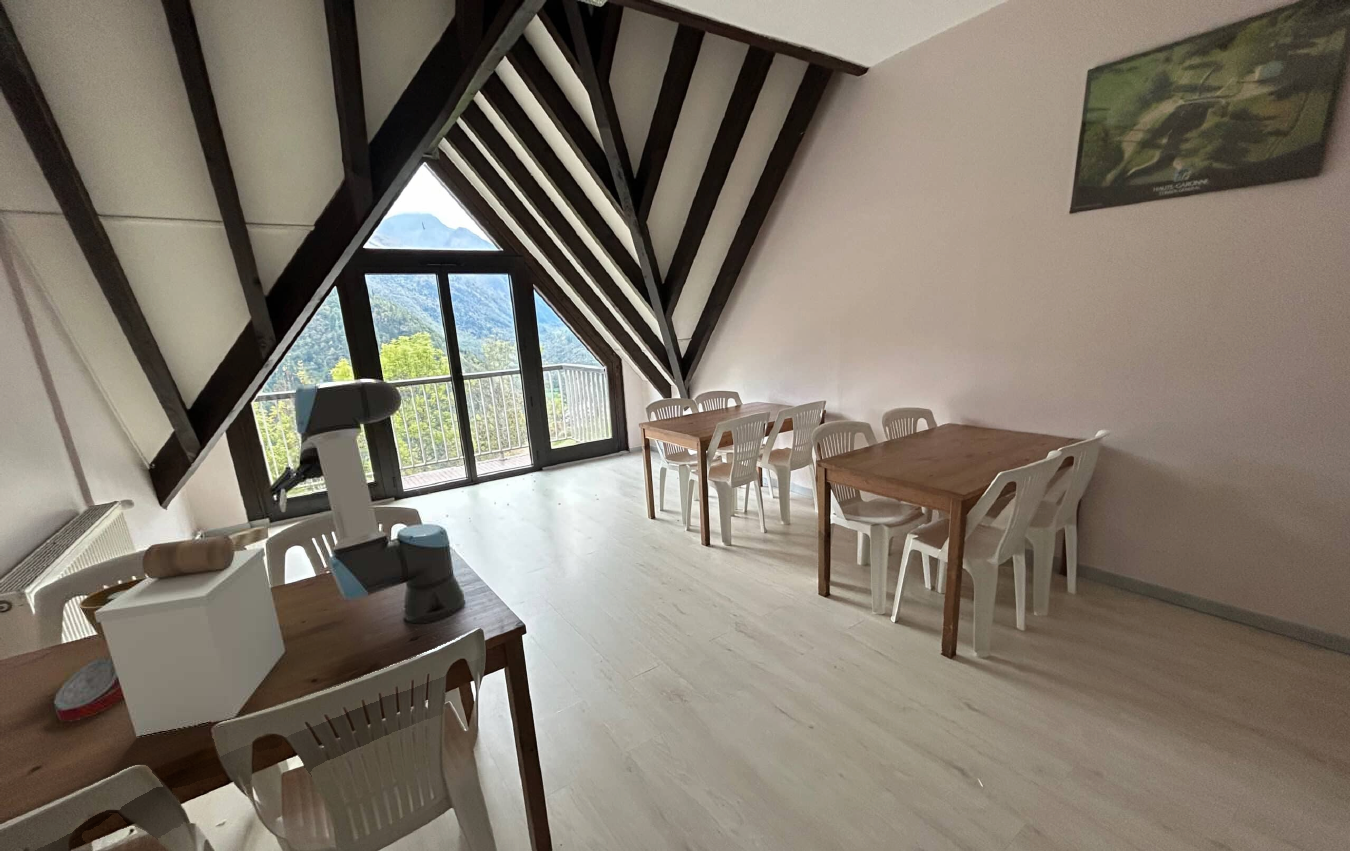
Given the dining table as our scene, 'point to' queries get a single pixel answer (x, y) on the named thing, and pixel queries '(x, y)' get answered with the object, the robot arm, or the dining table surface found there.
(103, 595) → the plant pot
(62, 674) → the dining table surface
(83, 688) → the canned food
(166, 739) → the dining table surface
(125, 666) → the pedestal
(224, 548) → the mallet
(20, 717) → the dining table surface
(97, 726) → the dining table surface
